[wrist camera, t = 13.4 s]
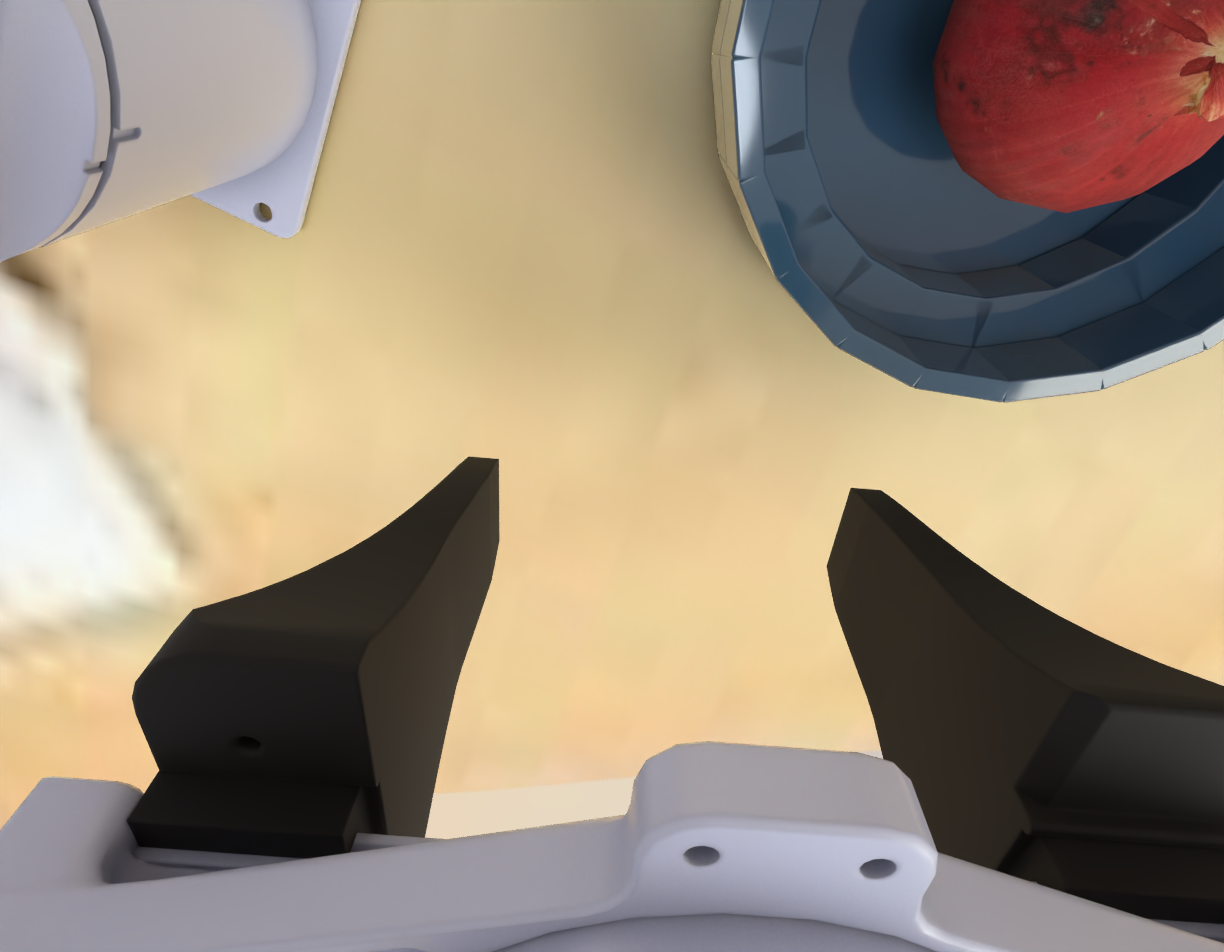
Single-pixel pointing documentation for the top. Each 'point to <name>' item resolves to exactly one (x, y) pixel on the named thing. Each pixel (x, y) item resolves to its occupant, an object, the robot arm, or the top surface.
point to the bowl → (945, 217)
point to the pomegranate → (1079, 95)
